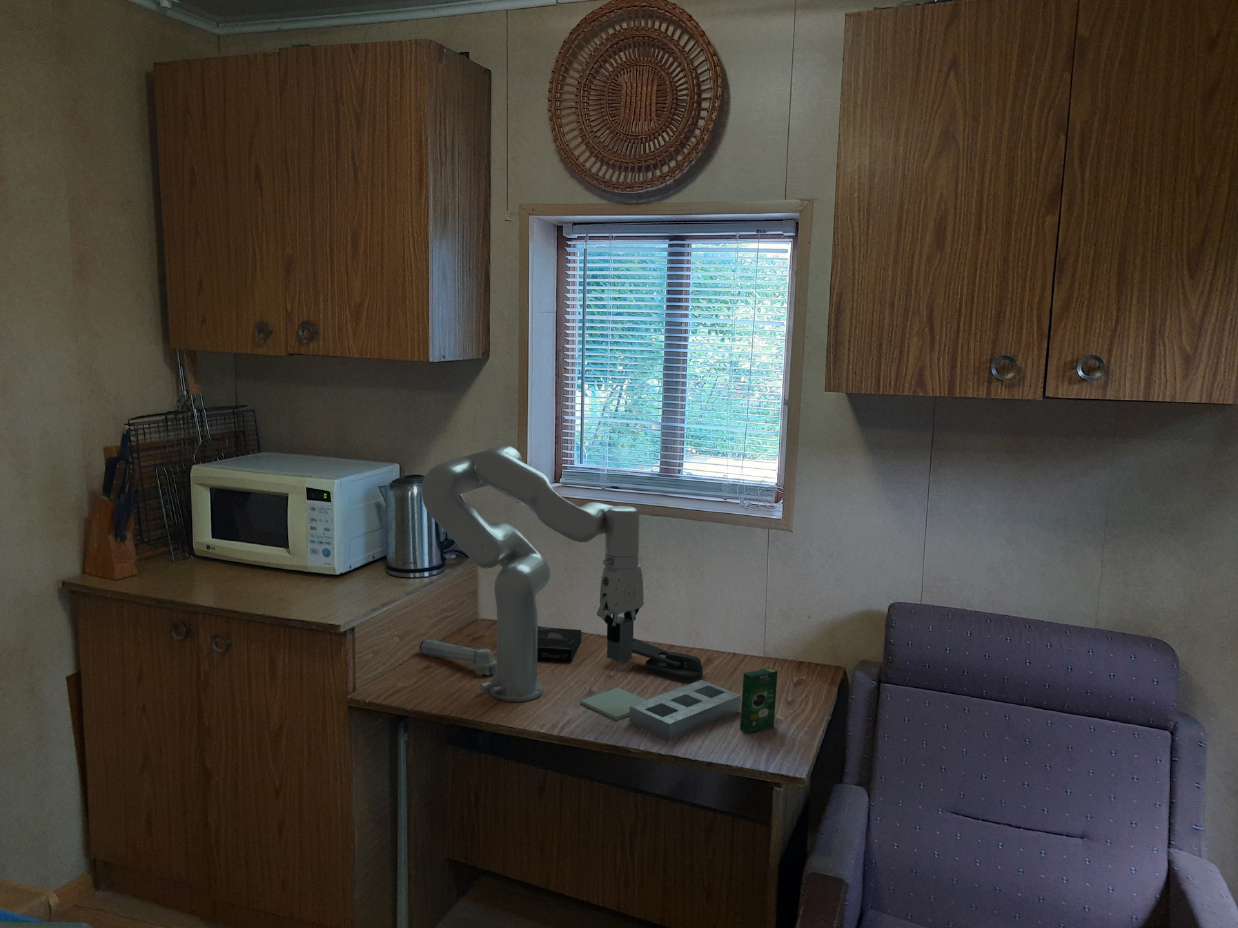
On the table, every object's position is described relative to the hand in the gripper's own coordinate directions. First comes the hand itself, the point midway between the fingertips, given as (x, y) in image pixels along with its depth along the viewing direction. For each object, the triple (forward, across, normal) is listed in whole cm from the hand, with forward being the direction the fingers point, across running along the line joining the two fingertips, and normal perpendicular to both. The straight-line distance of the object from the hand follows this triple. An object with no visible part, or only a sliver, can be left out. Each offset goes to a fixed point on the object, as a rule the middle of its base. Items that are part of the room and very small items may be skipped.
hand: (620, 638), depth 209 cm
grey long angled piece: (+16, -13, +46) cm, 50 cm away
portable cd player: (+17, +11, +39) cm, 44 cm away
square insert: (+5, 0, 0) cm, 5 cm away
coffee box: (+17, +15, -29) cm, 36 cm away
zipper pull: (+16, +23, +10) cm, 30 cm away
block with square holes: (+16, +7, -15) cm, 23 cm away
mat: (+16, 0, 0) cm, 16 cm away
